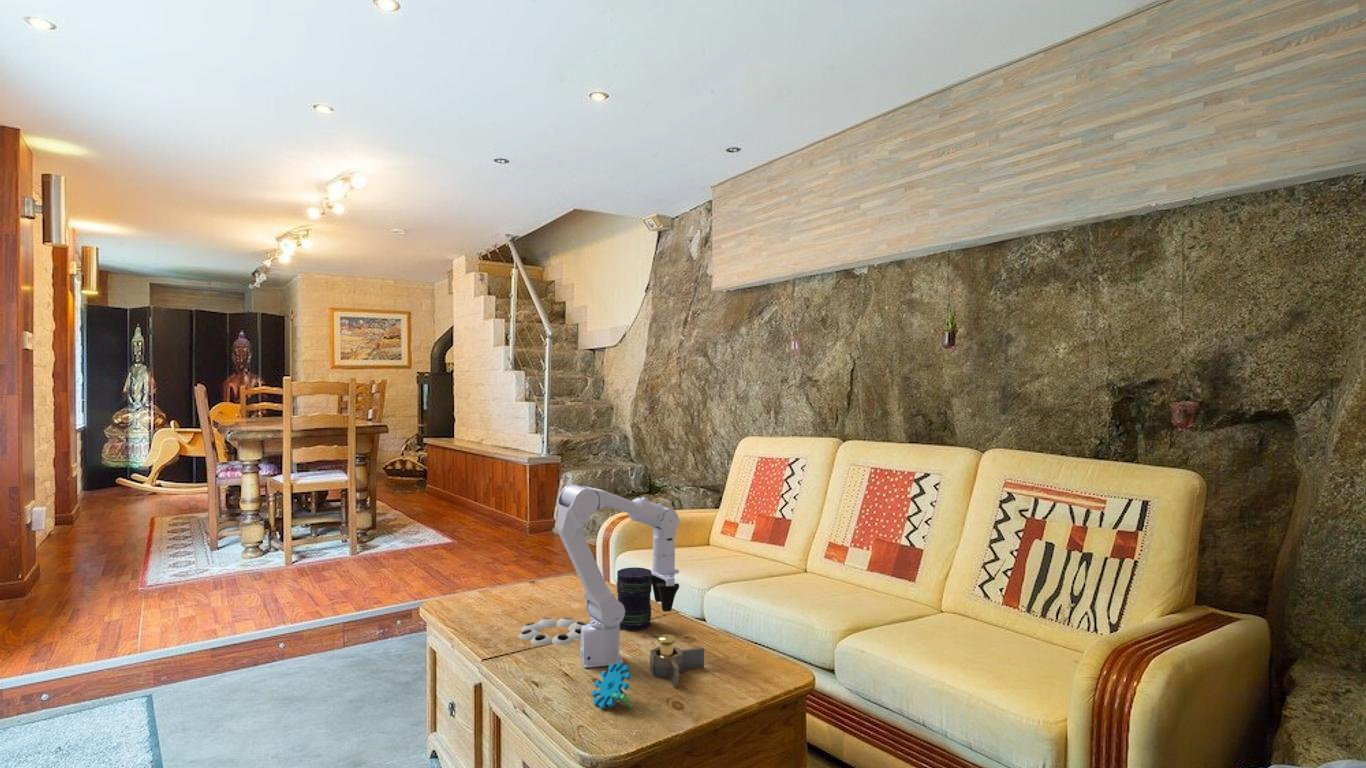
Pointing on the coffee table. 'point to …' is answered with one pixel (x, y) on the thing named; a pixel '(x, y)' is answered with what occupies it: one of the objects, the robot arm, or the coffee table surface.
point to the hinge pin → (666, 644)
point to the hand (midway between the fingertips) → (663, 606)
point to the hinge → (675, 663)
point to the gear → (612, 686)
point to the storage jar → (635, 598)
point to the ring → (550, 622)
